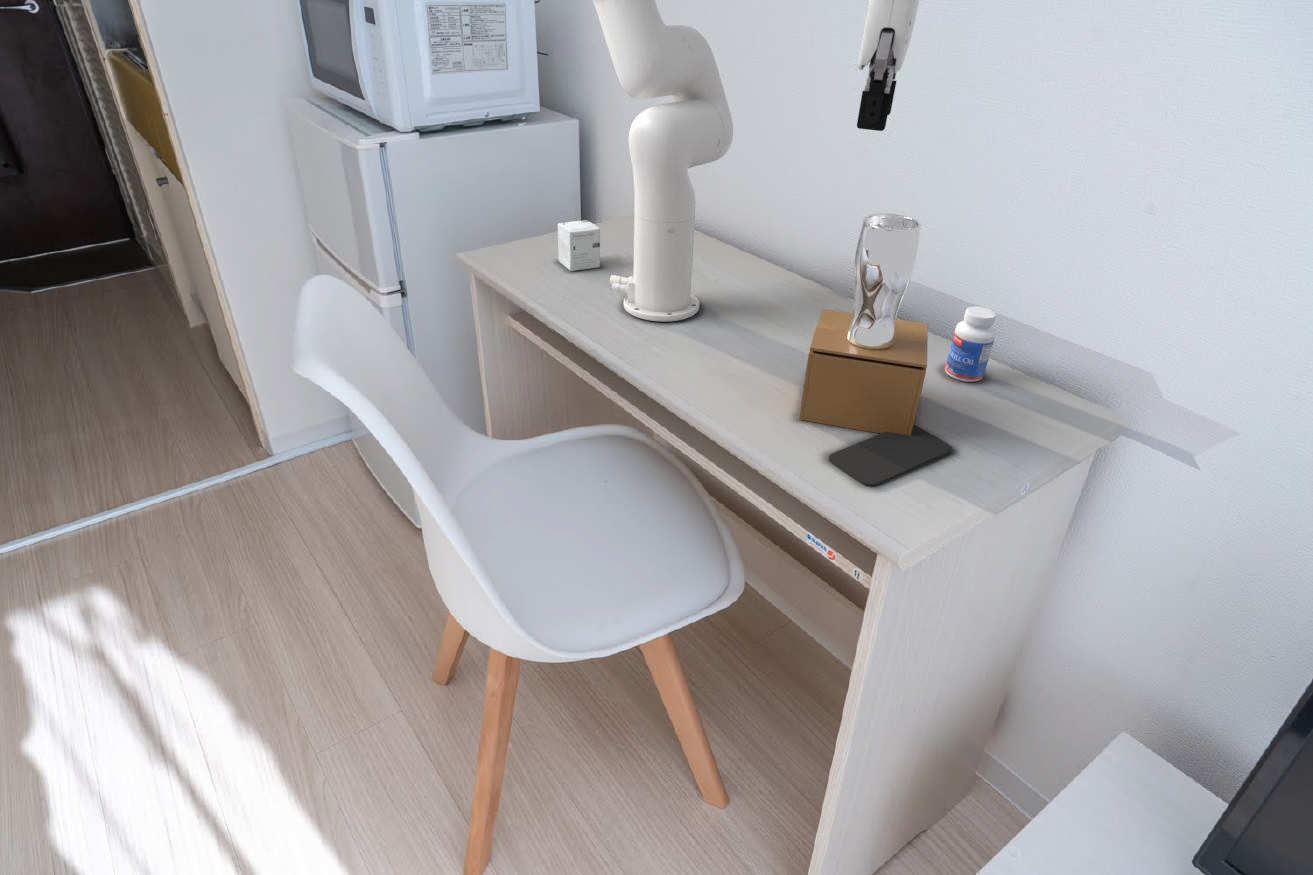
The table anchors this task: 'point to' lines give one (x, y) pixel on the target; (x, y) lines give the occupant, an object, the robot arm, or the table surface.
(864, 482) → the phone
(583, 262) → the white cardboard box
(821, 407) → the carton
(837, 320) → the flap
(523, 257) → the table surface
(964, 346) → the pill bottle
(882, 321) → the beer glass
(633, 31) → the robot arm
